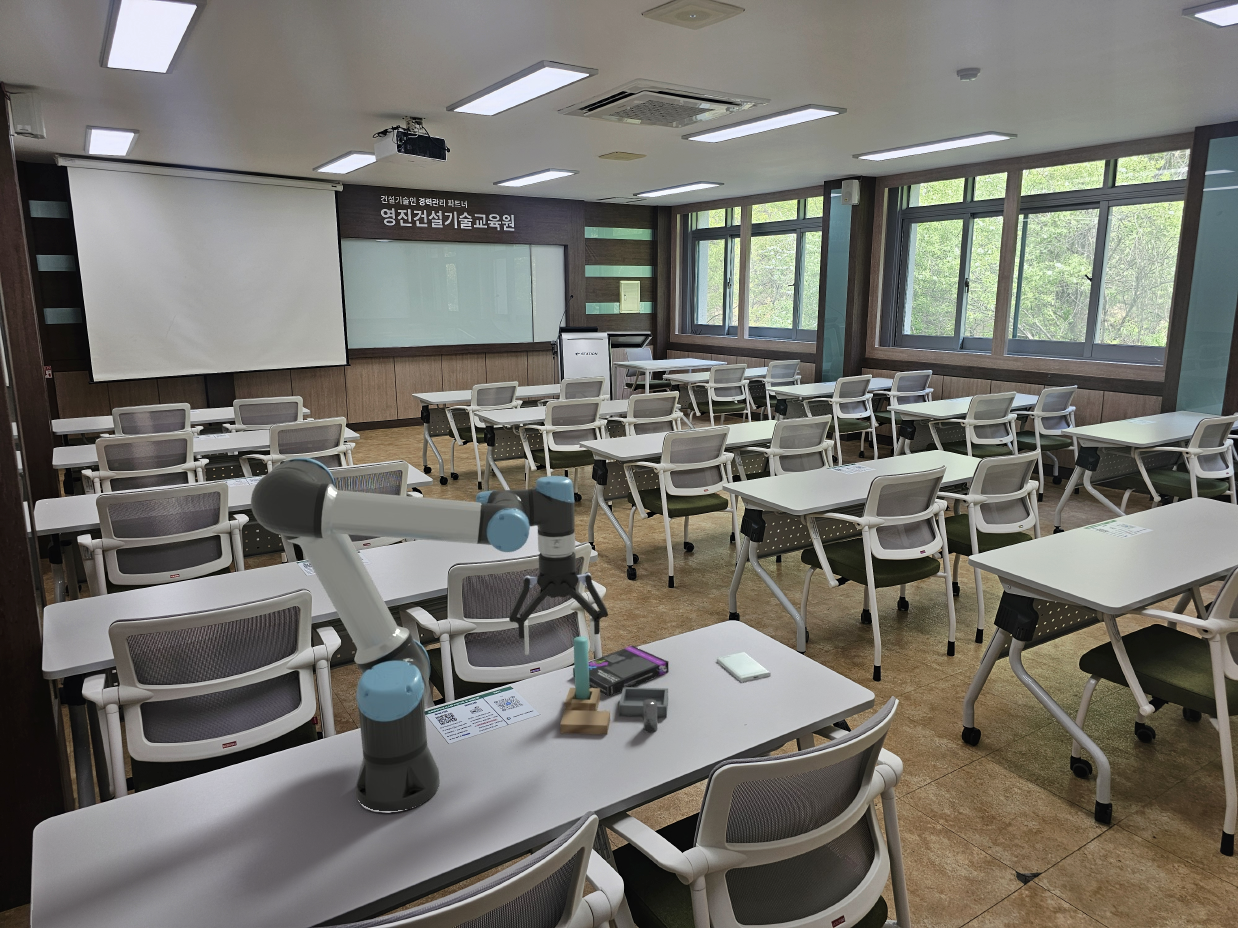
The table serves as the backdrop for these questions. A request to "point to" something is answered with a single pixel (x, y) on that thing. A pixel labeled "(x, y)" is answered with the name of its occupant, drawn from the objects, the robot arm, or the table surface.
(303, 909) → the table surface
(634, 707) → the tray
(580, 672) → the dowel
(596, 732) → the tan block
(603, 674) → the box
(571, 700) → the socket block
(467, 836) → the table surface
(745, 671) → the hard drive
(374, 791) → the robot arm
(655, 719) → the bench dog
